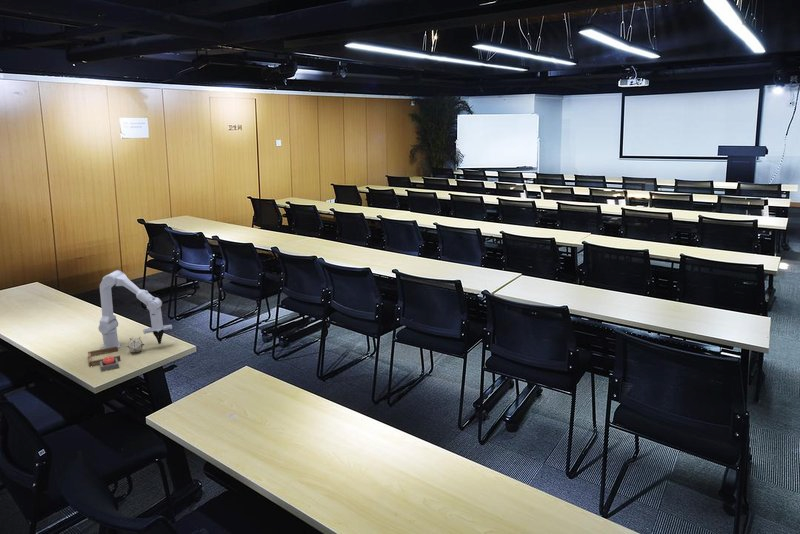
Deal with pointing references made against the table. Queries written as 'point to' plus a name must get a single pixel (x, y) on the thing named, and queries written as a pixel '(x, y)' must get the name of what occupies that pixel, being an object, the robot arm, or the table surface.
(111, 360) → the dome button
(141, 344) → the spiky grey ball
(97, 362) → the corral
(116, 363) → the button collar
